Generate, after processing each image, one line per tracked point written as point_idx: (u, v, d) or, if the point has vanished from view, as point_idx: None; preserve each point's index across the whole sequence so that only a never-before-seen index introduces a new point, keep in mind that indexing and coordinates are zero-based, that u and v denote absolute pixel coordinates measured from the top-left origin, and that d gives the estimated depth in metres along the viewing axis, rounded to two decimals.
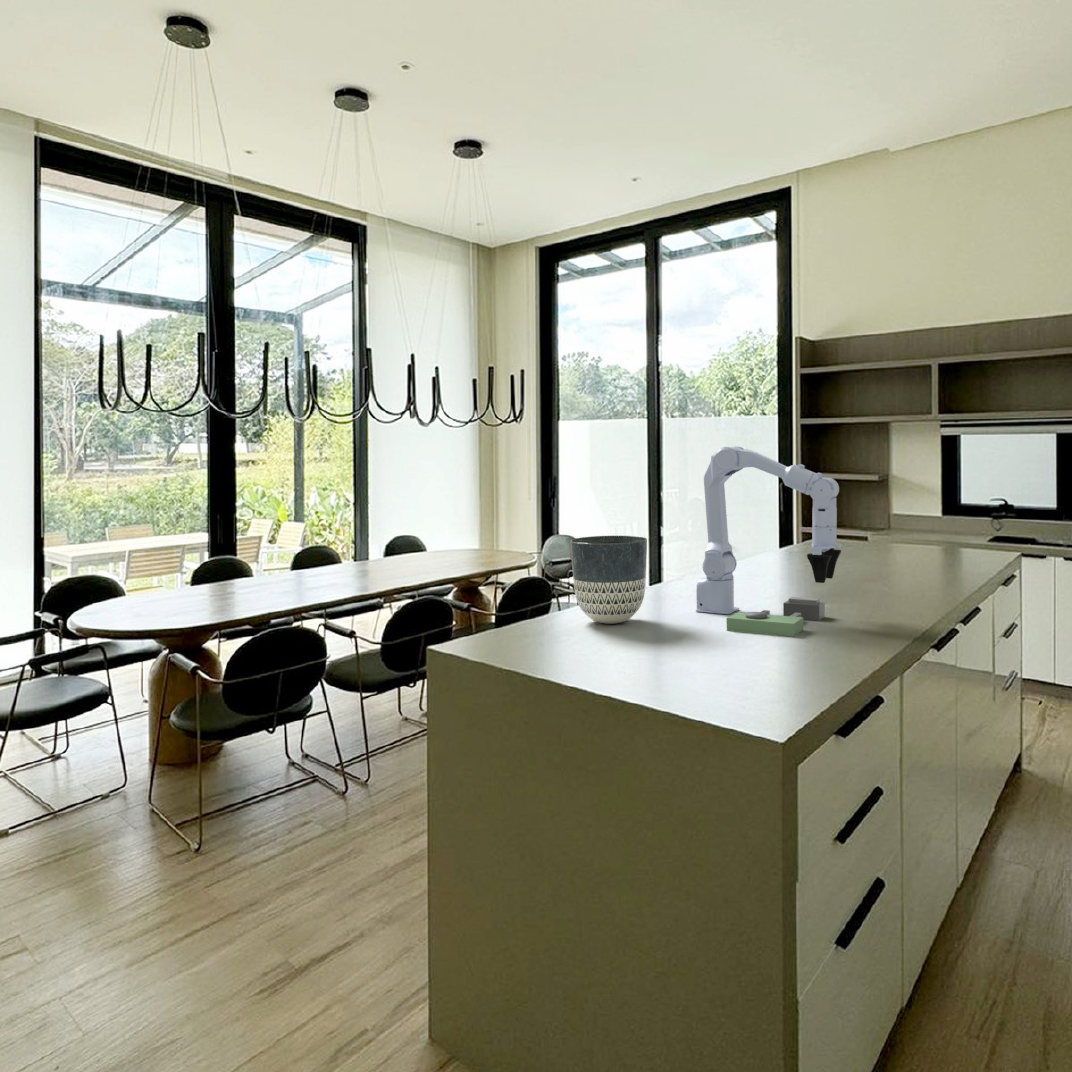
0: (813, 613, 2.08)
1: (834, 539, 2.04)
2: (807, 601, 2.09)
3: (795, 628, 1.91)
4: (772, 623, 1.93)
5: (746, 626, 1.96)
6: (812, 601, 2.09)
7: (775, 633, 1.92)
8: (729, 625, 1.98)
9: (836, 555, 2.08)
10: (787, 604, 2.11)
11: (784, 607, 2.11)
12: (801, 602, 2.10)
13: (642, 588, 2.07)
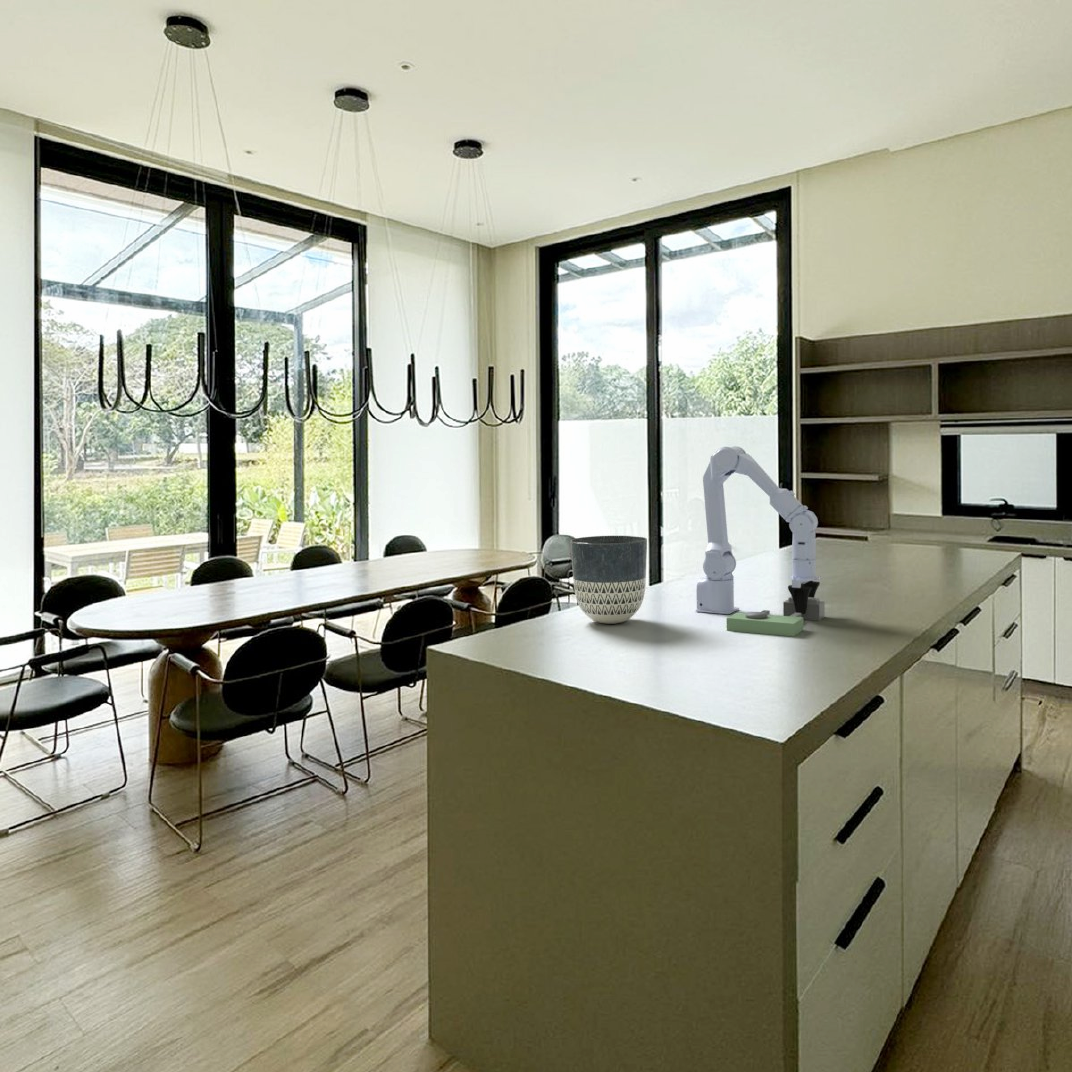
0: (813, 612, 2.08)
1: (813, 572, 2.08)
2: None
3: (795, 628, 1.91)
4: (772, 623, 1.93)
5: (746, 626, 1.96)
6: (812, 600, 2.09)
7: (775, 633, 1.92)
8: (729, 625, 1.98)
9: (815, 587, 2.12)
10: (787, 603, 2.11)
11: (784, 606, 2.11)
12: None
13: (642, 588, 2.07)
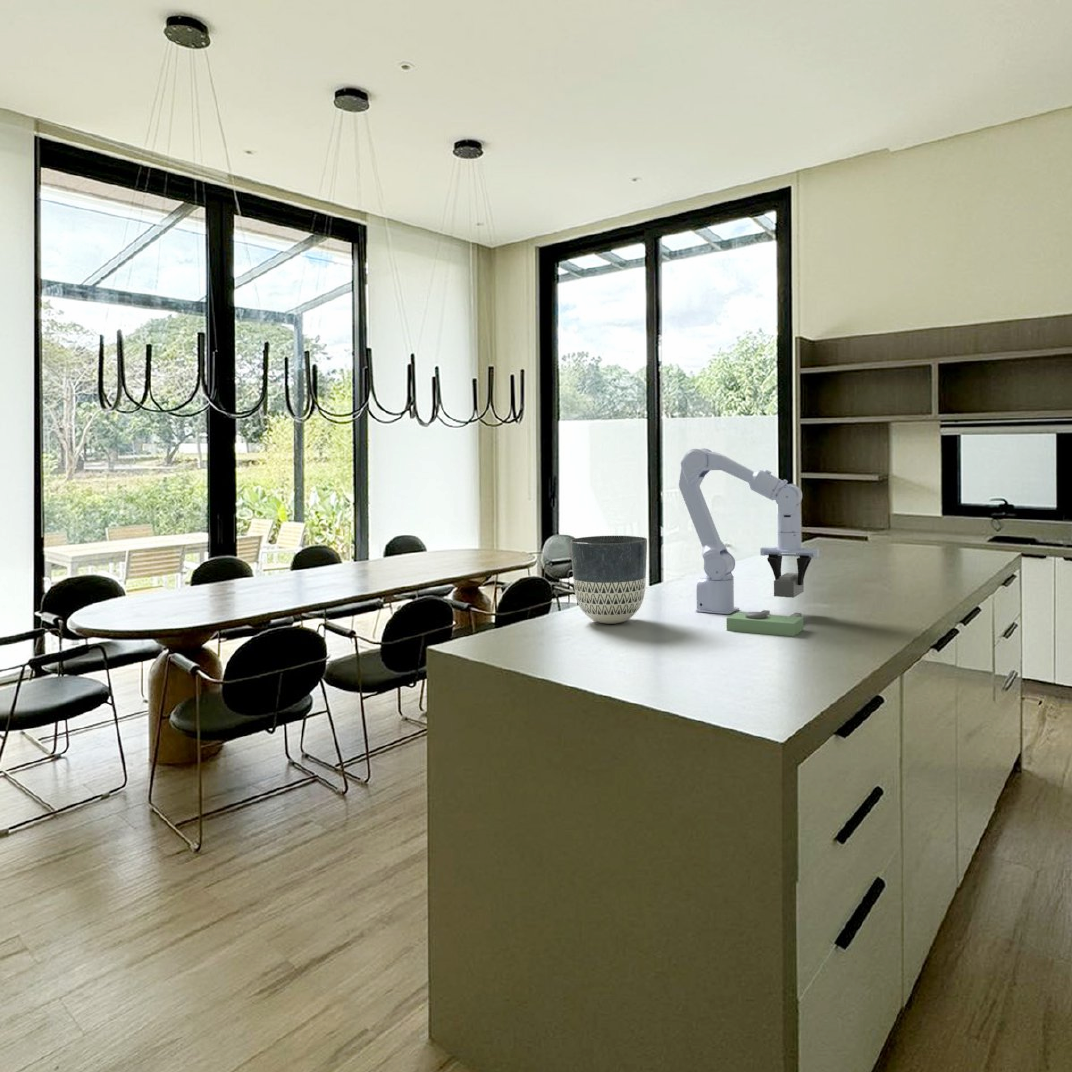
0: None
1: (782, 544, 2.11)
2: None
3: (795, 628, 1.91)
4: (772, 623, 1.93)
5: (746, 626, 1.96)
6: None
7: (775, 633, 1.92)
8: (729, 625, 1.98)
9: None
10: None
11: None
12: None
13: (642, 588, 2.07)
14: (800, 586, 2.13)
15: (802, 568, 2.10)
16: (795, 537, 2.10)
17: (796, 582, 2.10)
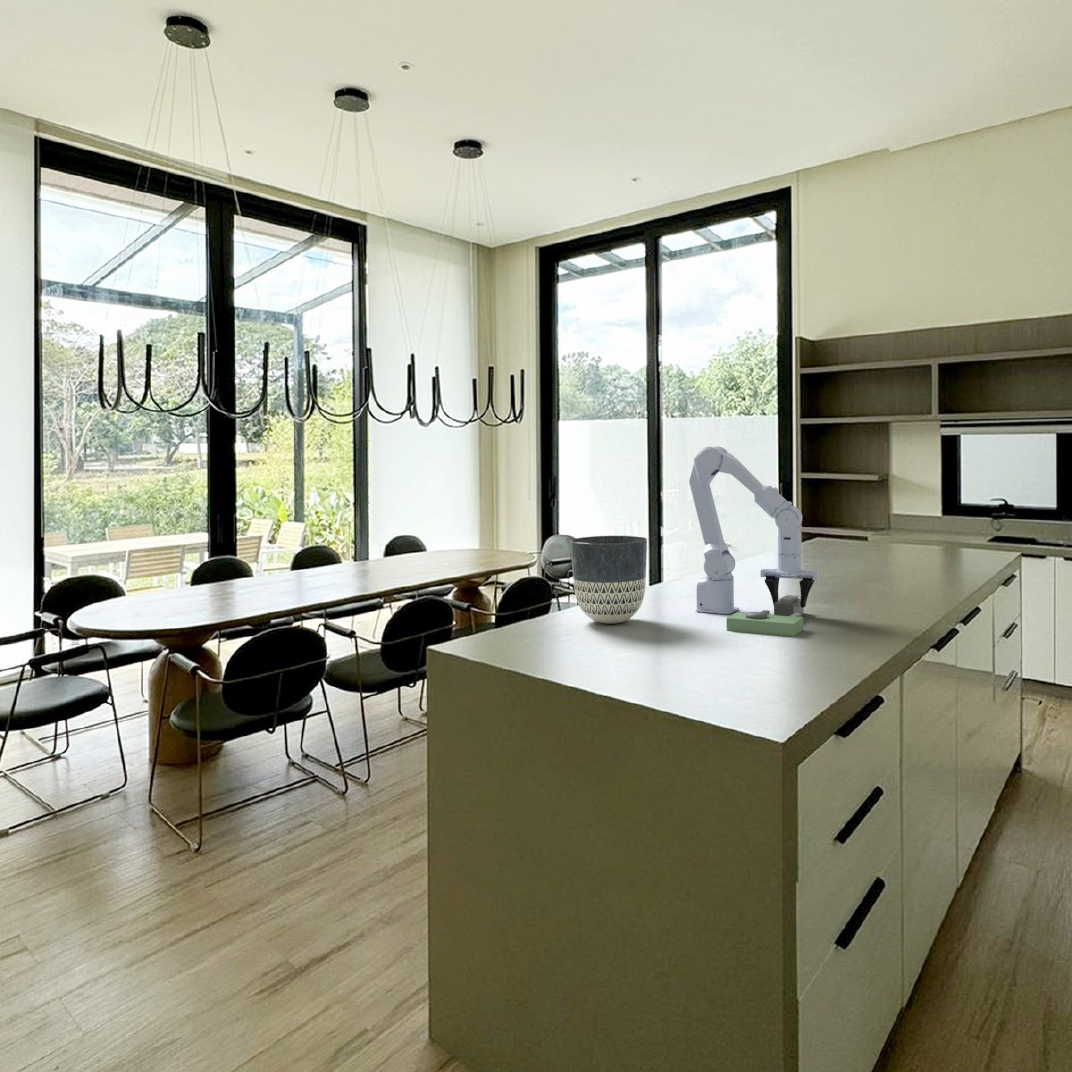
0: None
1: (782, 567, 2.12)
2: None
3: (795, 628, 1.91)
4: (772, 623, 1.93)
5: (746, 626, 1.96)
6: None
7: (775, 633, 1.92)
8: (729, 625, 1.98)
9: (800, 585, 2.10)
10: None
11: None
12: None
13: (642, 588, 2.07)
14: (800, 608, 2.14)
15: (805, 590, 2.10)
16: (795, 559, 2.10)
17: (796, 605, 2.11)
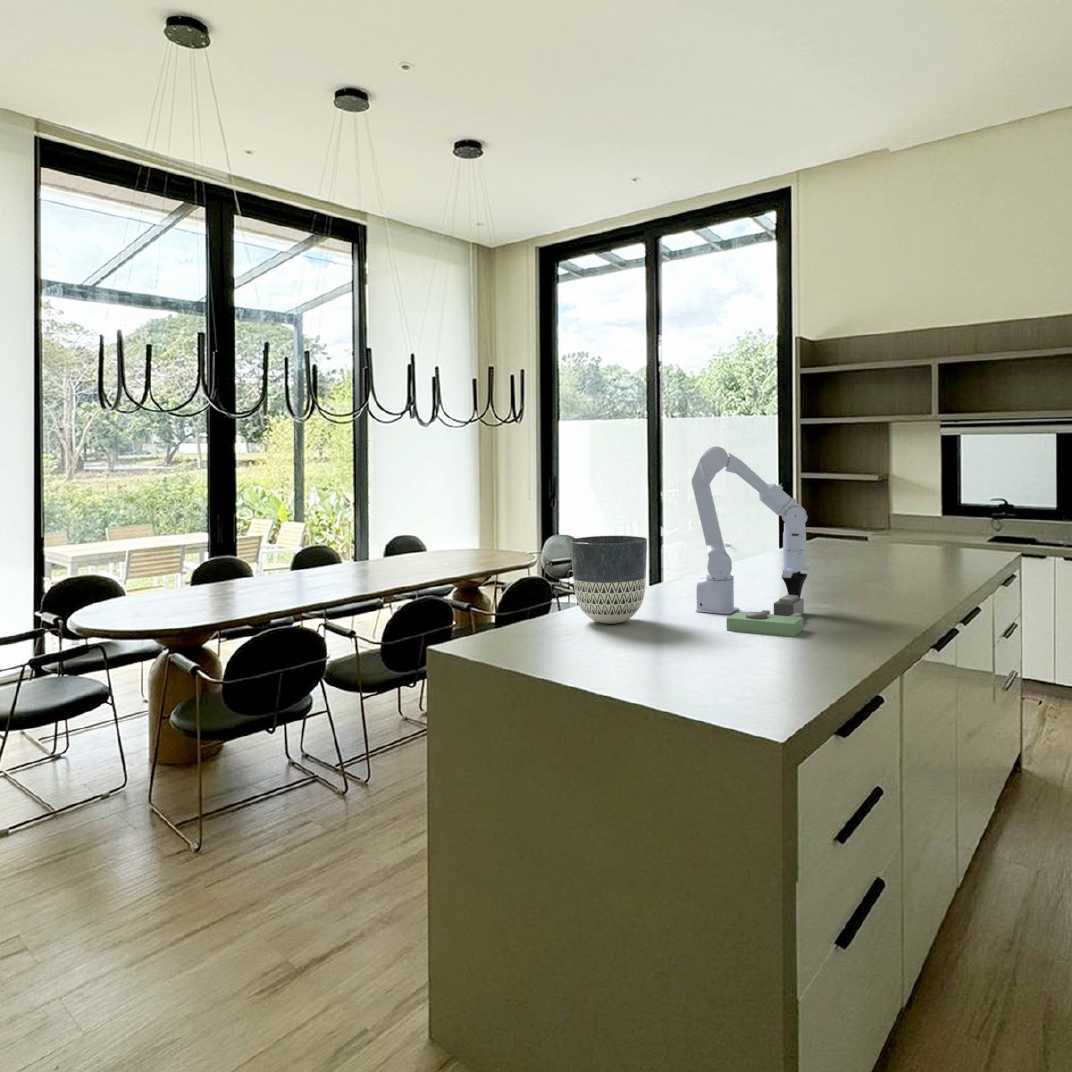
0: None
1: (803, 562, 2.15)
2: None
3: (795, 628, 1.91)
4: (772, 623, 1.93)
5: (746, 626, 1.96)
6: None
7: (775, 633, 1.92)
8: (729, 625, 1.98)
9: (802, 579, 2.17)
10: None
11: None
12: None
13: (642, 588, 2.07)
14: (800, 608, 2.14)
15: (803, 583, 2.18)
16: None
17: (796, 604, 2.10)
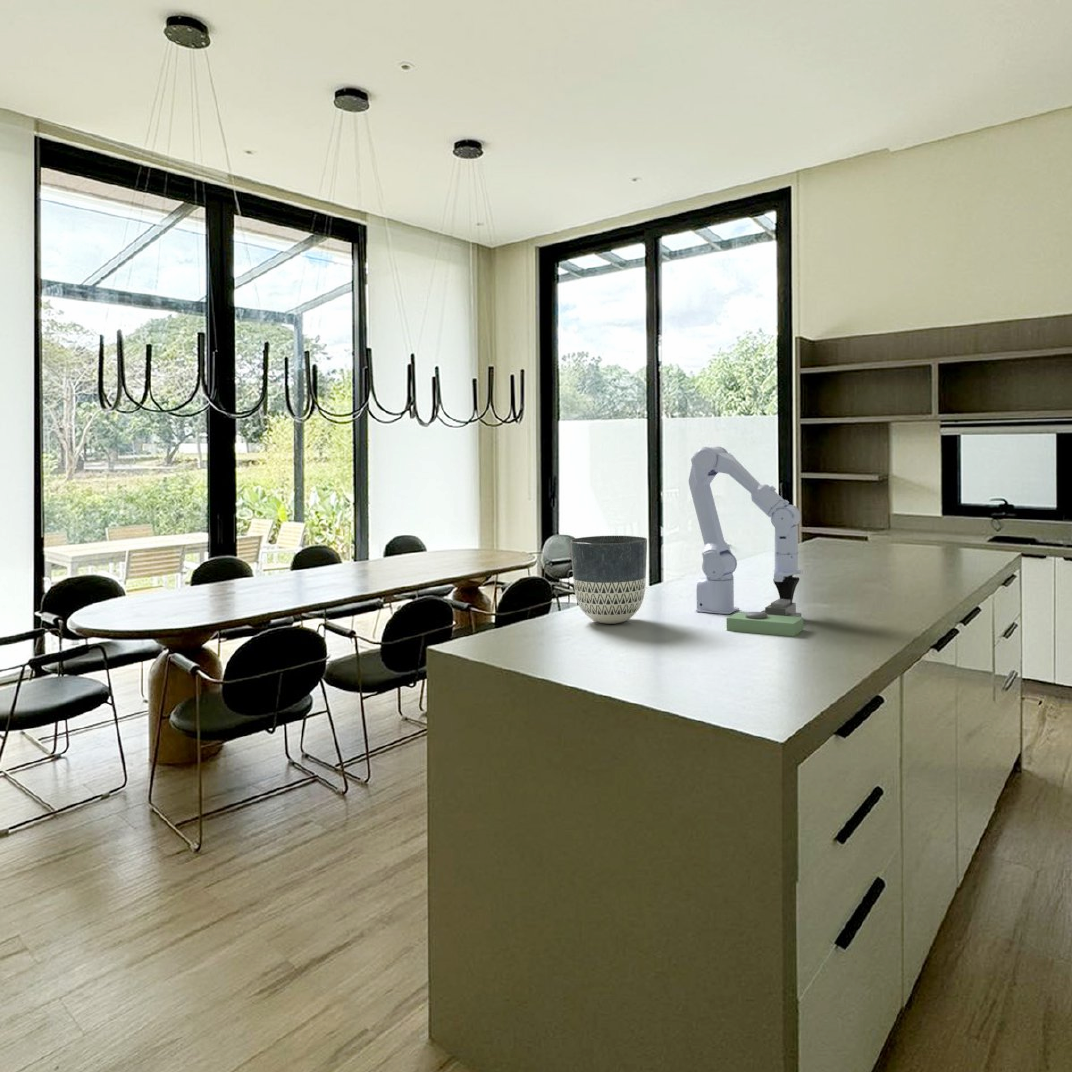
0: None
1: (795, 566, 2.09)
2: None
3: (795, 628, 1.91)
4: (772, 623, 1.93)
5: (746, 626, 1.96)
6: None
7: (775, 633, 1.92)
8: (729, 625, 1.98)
9: (794, 583, 2.11)
10: None
11: None
12: None
13: (642, 588, 2.07)
14: (792, 613, 2.08)
15: (795, 587, 2.12)
16: None
17: (788, 609, 2.04)
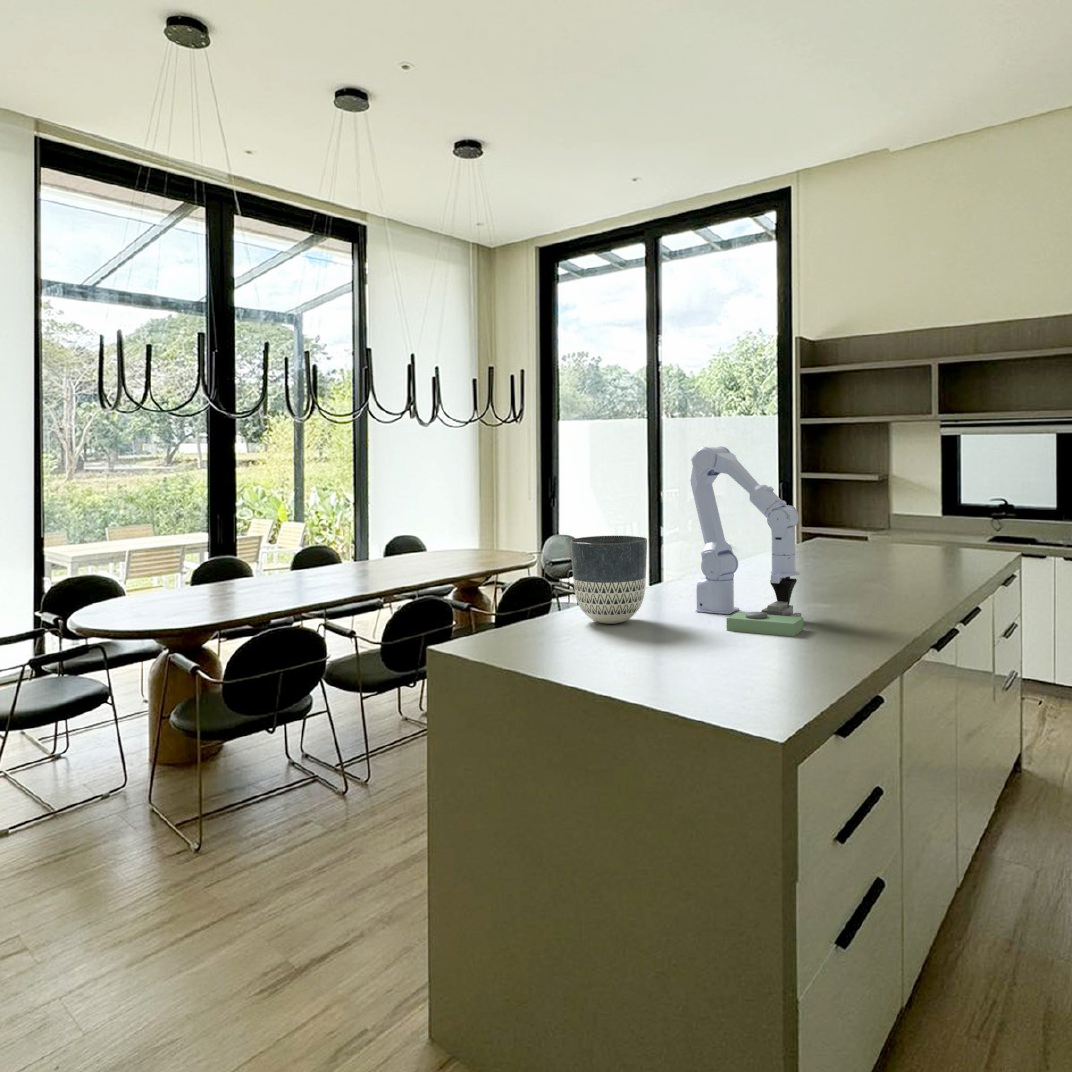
0: None
1: (793, 567, 2.07)
2: None
3: (795, 628, 1.91)
4: (772, 623, 1.93)
5: (746, 626, 1.96)
6: None
7: (775, 633, 1.92)
8: (729, 625, 1.98)
9: (791, 584, 2.09)
10: None
11: None
12: None
13: (642, 588, 2.07)
14: (789, 615, 2.06)
15: (792, 589, 2.10)
16: None
17: (785, 612, 2.02)
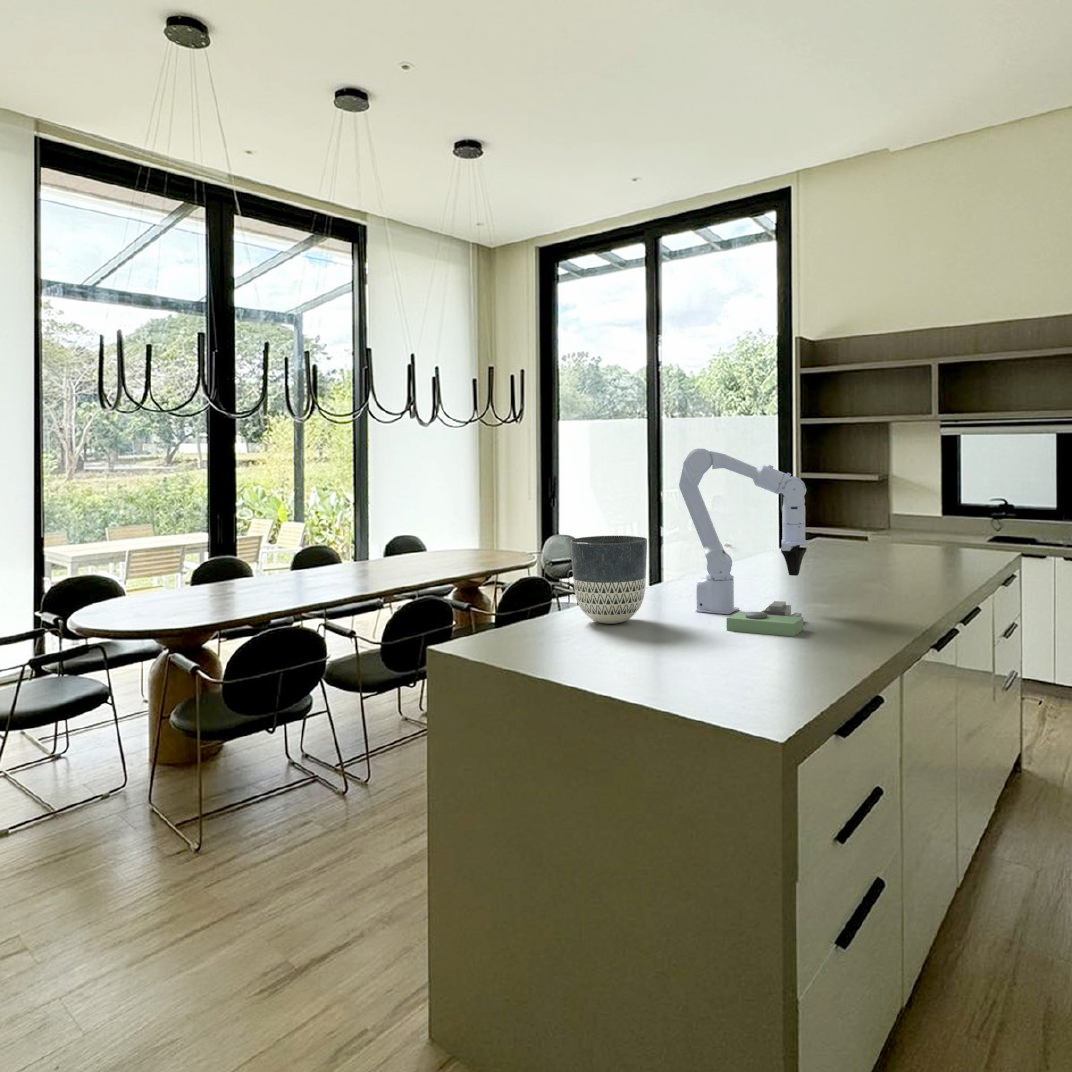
0: None
1: (803, 536, 2.14)
2: None
3: (795, 628, 1.91)
4: (772, 623, 1.93)
5: (746, 626, 1.96)
6: (770, 606, 2.04)
7: (775, 633, 1.92)
8: (729, 625, 1.98)
9: (802, 553, 2.15)
10: None
11: None
12: None
13: (642, 588, 2.07)
14: (789, 615, 2.06)
15: (802, 557, 2.17)
16: None
17: (786, 611, 2.03)
